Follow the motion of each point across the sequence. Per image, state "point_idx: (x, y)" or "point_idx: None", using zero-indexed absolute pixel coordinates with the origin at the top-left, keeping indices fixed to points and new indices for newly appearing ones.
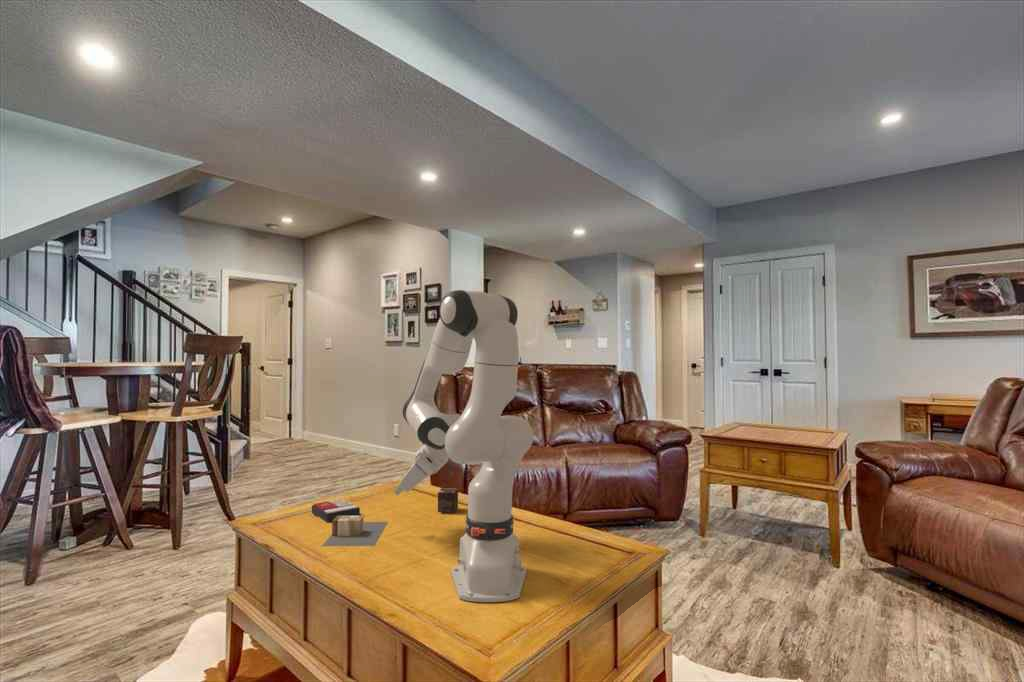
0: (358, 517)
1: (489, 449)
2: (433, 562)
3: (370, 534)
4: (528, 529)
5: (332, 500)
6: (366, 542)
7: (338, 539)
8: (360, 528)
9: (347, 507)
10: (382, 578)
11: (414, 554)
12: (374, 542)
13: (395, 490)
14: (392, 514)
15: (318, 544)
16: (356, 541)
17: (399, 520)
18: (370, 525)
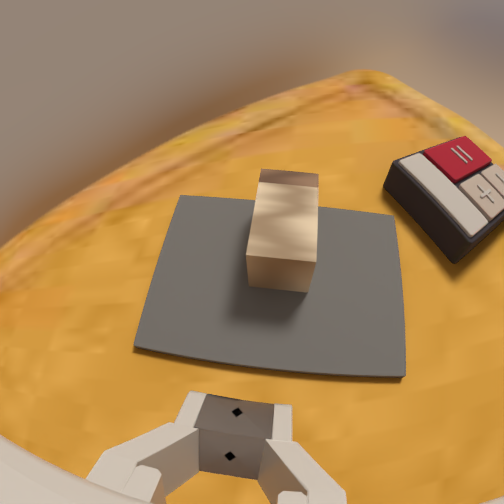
0: (290, 245)
1: None
2: None
3: (257, 324)
4: None
5: (501, 170)
6: (170, 316)
7: (223, 226)
8: (262, 276)
9: (457, 205)
10: None
11: None
12: (163, 345)
13: (185, 403)
14: (495, 370)
15: (214, 187)
16: (190, 282)
17: (438, 415)
18: (364, 312)
